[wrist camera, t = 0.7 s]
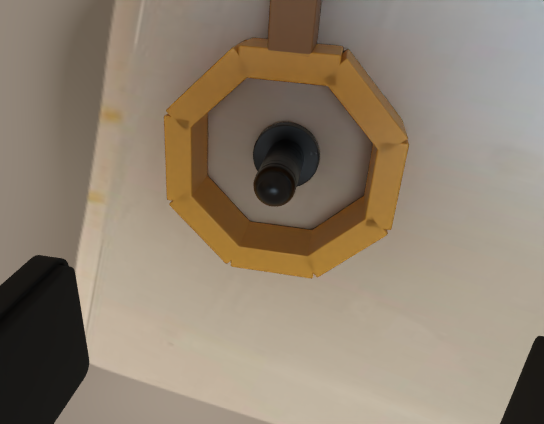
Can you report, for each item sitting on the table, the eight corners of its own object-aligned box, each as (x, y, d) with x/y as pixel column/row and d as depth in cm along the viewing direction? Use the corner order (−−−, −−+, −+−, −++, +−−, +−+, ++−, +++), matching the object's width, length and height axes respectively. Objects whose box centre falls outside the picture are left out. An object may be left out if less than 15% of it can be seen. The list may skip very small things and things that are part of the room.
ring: (180, -39, 23) (157, -40, 20) (432, -19, 21) (443, -18, 19) (185, 232, 30) (168, 257, 27) (376, 259, 28) (378, 288, 26)
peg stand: (256, 118, 26) (233, 151, 21) (323, 125, 25) (315, 161, 20) (253, 179, 27) (231, 223, 22) (315, 187, 27) (306, 233, 22)
